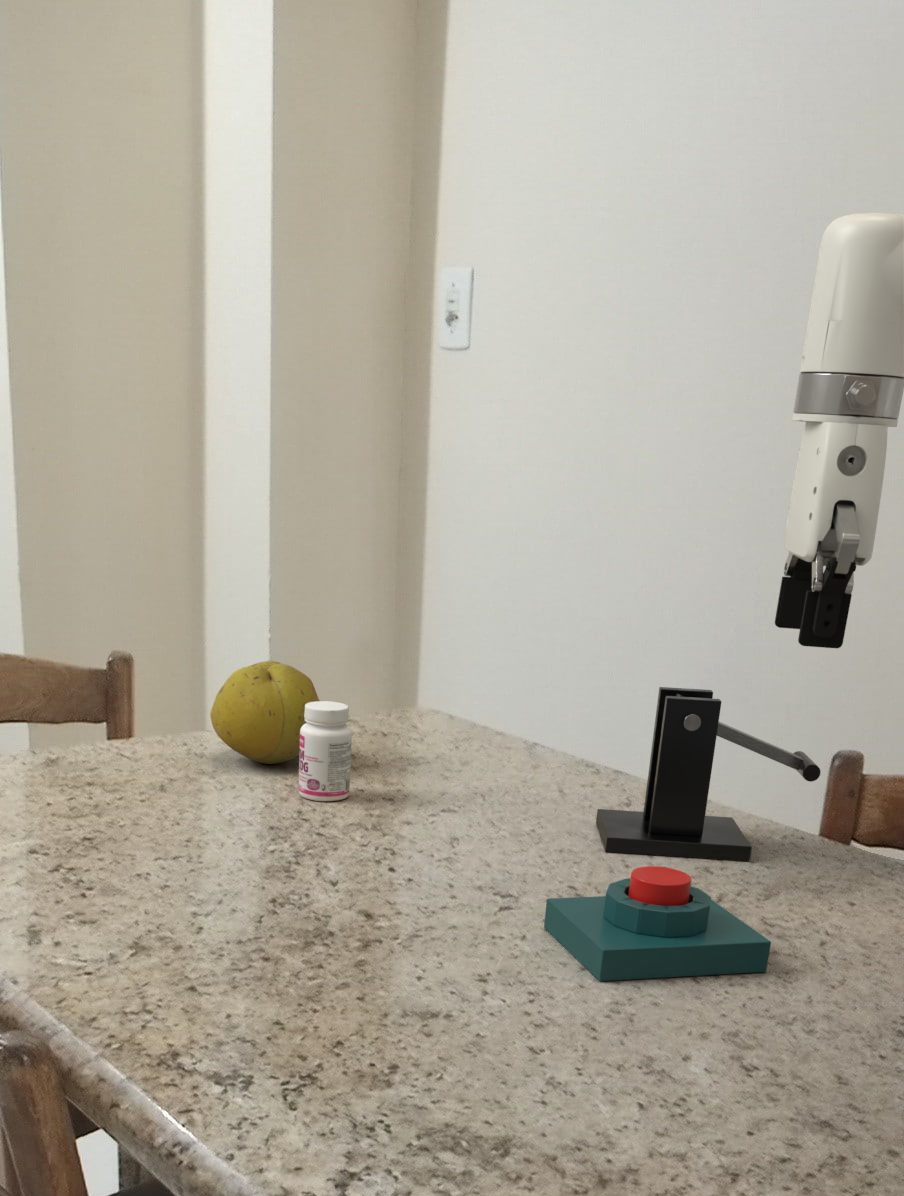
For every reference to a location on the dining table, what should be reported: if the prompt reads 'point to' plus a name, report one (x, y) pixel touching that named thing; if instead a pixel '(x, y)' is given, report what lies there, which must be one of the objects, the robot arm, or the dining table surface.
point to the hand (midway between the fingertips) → (806, 636)
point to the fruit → (263, 711)
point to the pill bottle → (325, 752)
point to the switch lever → (770, 751)
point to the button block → (654, 936)
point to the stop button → (660, 886)
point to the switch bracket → (678, 788)
